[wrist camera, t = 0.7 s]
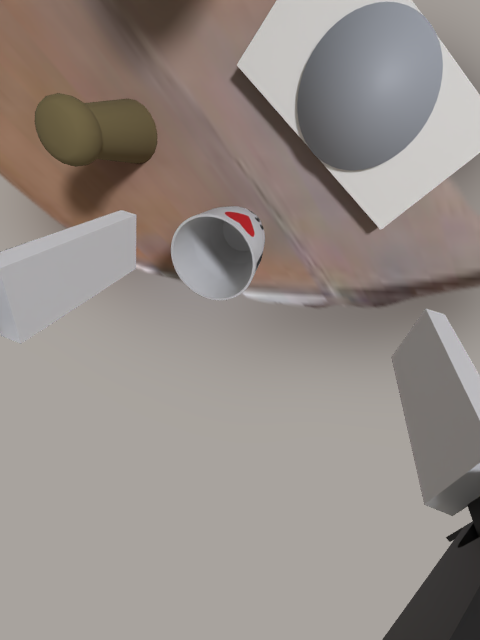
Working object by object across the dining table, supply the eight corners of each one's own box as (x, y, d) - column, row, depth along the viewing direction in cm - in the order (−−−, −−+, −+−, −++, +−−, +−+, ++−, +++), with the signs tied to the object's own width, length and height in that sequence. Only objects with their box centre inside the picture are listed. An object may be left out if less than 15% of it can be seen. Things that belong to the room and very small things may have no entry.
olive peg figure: (133, 174, 35) (62, 188, 26) (98, 124, 33) (9, 120, 24) (167, 141, 32) (100, 143, 23) (131, 84, 30) (42, 62, 21)
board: (240, 67, 27) (235, 64, 26) (339, -90, 21) (339, -104, 20) (379, 226, 30) (381, 230, 29) (499, 132, 24) (507, 131, 23)
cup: (285, 252, 35) (268, 288, 26) (226, 271, 38) (194, 308, 30) (261, 182, 31) (232, 199, 23) (199, 209, 35) (155, 232, 27)
